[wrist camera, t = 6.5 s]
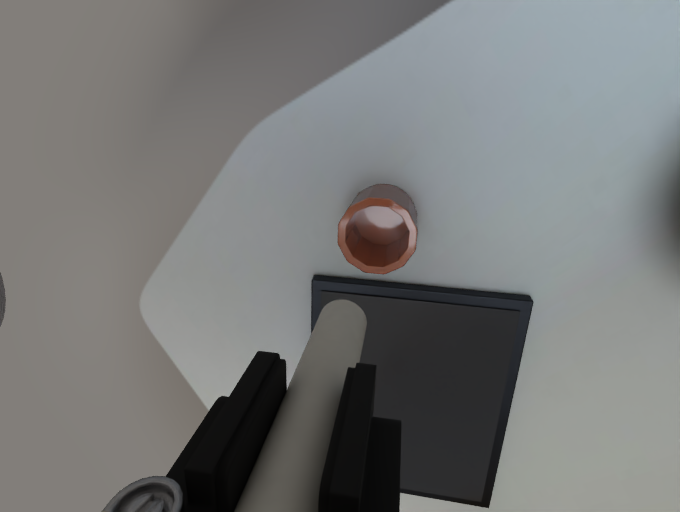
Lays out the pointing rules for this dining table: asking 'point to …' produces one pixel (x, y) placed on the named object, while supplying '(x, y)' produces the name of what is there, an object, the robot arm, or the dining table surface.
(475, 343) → the tablet
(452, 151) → the dining table surface
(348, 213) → the pen cup
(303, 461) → the stylus
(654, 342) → the dining table surface
